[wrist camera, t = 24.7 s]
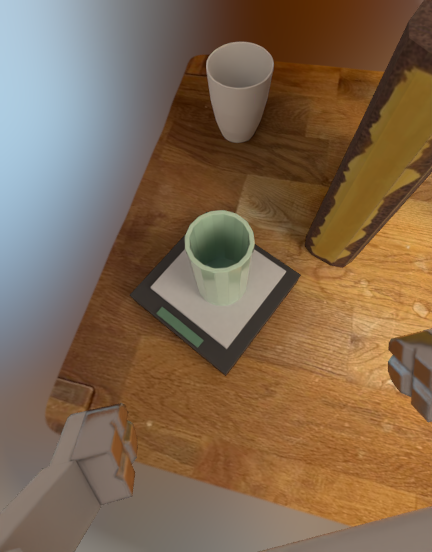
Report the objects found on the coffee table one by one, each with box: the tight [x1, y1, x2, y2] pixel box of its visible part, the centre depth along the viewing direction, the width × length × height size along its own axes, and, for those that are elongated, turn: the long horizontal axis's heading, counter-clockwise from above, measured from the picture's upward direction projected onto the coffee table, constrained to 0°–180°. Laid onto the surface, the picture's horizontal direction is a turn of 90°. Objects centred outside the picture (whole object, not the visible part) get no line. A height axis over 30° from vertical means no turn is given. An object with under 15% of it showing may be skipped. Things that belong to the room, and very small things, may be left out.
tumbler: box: [185, 210, 255, 306], centre depth 31 cm, size 6×6×10 cm
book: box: [305, 0, 432, 267], centre depth 31 cm, size 22×8×25 cm, turn 145°
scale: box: [130, 212, 300, 376], centre depth 37 cm, size 14×14×3 cm
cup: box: [206, 42, 274, 143], centre depth 43 cm, size 8×8×10 cm
